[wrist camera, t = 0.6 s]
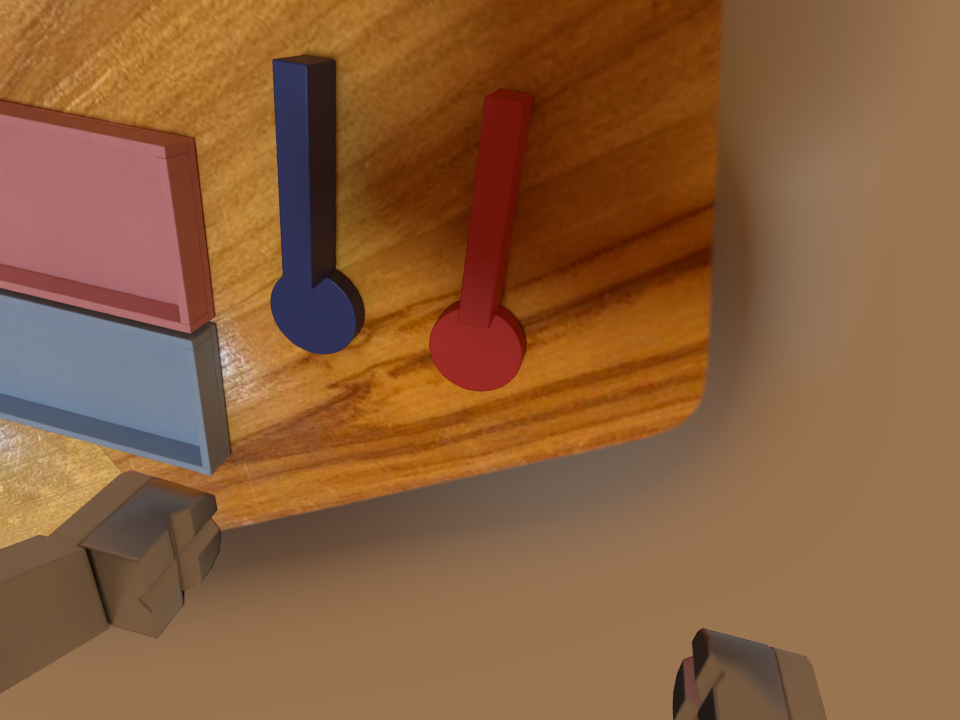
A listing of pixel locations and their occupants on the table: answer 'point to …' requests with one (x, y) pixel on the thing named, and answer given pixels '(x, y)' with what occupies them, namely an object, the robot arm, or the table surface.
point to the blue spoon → (309, 211)
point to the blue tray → (113, 381)
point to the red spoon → (488, 257)
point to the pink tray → (102, 217)
